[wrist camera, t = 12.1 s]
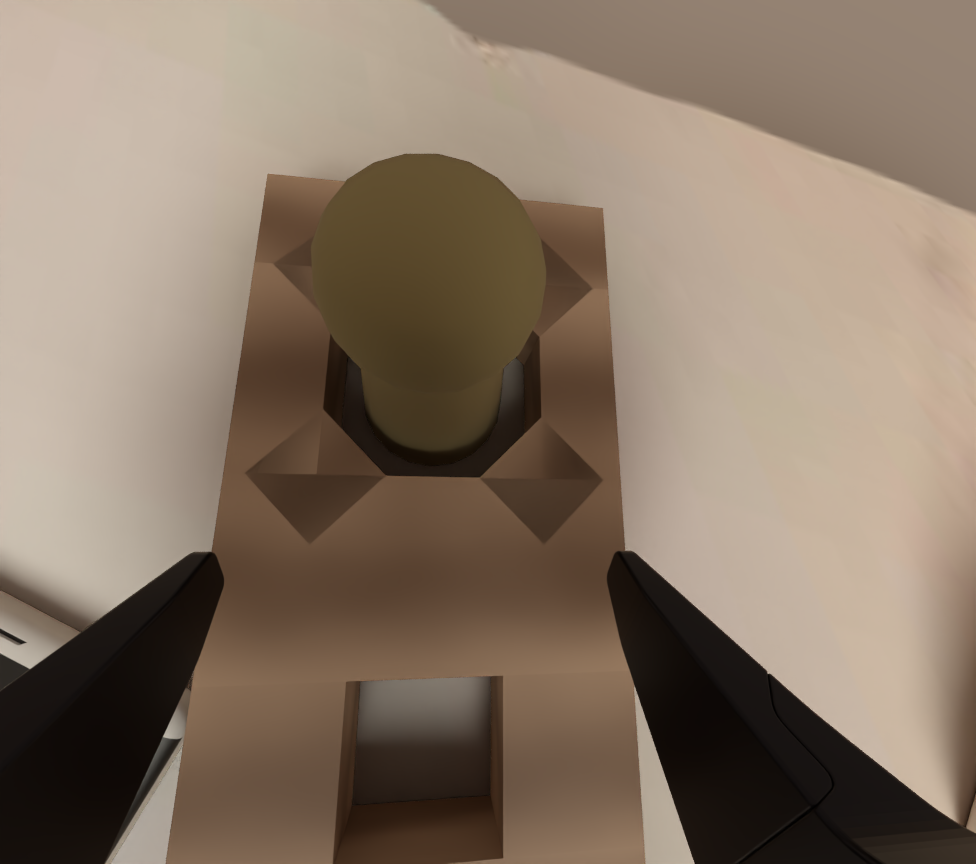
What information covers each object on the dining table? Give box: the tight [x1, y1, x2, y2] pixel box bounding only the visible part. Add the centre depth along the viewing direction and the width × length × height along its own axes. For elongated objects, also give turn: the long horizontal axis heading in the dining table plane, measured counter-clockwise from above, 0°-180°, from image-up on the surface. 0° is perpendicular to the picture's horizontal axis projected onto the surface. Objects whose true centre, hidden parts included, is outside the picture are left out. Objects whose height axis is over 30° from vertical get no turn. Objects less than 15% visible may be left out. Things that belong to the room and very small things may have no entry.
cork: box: [311, 154, 546, 466], centre depth 13 cm, size 6×6×11 cm
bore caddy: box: [166, 174, 645, 864], centre depth 16 cm, size 28×14×3 cm, turn 0°
